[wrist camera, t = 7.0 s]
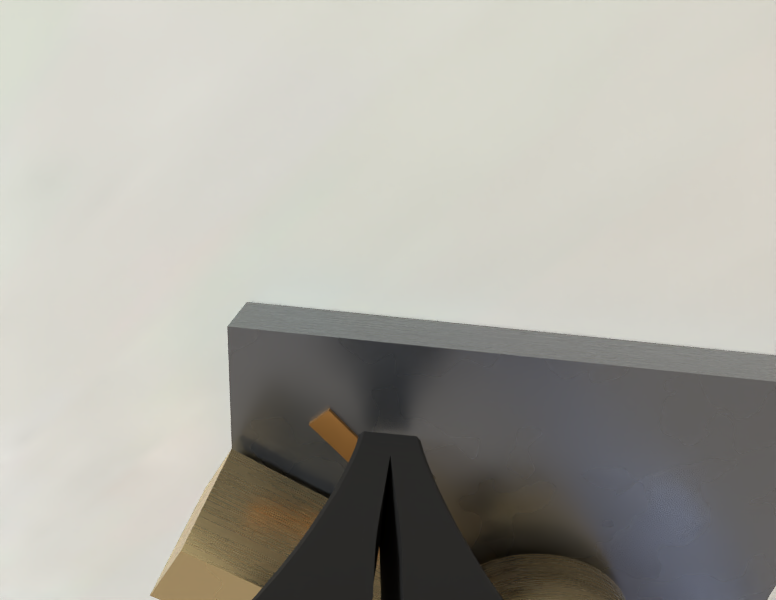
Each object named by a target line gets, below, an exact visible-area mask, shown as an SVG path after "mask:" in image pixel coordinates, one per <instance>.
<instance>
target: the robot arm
mask: <svg viewBox="0 0 776 600" xmlns="http://www.w3.org/2000/svg"><path fill="white" fill-rule="evenodd" d="M379 551H380V586H381V600H504V599H503V598H502V597H501V595H500V594H499V592H498V591H497V590H496V588H495V587H494V585H493V584H492V582H491V581H490V579H489V578H488V576H487V575H486V573H485V572H484V570H483V569H482V567H481V565H480V564H479V562H478V561H477V559H476V557H475V556H474V554H473V552H472V551H471V549H470V547H469V546H468V544H467V542H466V540H465V539H464V537H463V535H462V533H461V532H460V530H459V528H458V526H457V524H456V522H455V521H454V519H453V517H452V515H451V513H450V511H449V509H448V507H447V505H446V503H445V501H444V499H443V497H442V495H441V493H440V490H439V488H438V486H437V484H436V482H435V479H434V477H433V474H432V472H431V470H430V467H429V465H428V462H427V459H426V456H425V454H424V451H423V447H422V444H421V441H420V440H419V438H418V437H417V436H409V435H399V434H388V433H378V432H367V431H364V432H362V433H361V434H359V436H358V440H357V443H356V446H355V449H354V451H353V454H352V456H351V458H350V460H349V462H348V464H347V466H346V468H345V470H344V472H343V474H342V476H341V478H340V480H339V481H338V483H337V485H336V487H335V488H334V490H333V492H332V494H331V496H330V497H329V499H328V500H327V502H326V504H325V505H324V507H323V508H322V510H321V511H320V513H319V514H318V516H317V517H316V519H315V520H314V522H313V523H312V525H311V526H310V528H309V529H308V531H307V532H306V534H305V535H304V536H303V538H302V539H301V540H300V542H299V543H298V544H297V546H296V547H295V548H294V550H293V551H292V552H291V554H290V555H289V556H288V557H287V559H286V560H285V561H284V563H283V564H282V565H281V566H280V568H279V569H278V570H277V571H276V572H275V573H274V575H273V576H272V577H271V578H270V579H269V580H268V582H267V583H266V584H265V585H264V586H263V587H262V589H261V590H260V591H259V592H258V593H257V594H256V596H255V597H254V598H253V599H252V600H373V584H374V578H375V571H376V565H377V558H378V552H379Z"/></svg>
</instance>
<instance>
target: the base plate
mask: <svg viewBox="0 0 776 600" xmlns="http://www.w3.org/2000/svg"><path fill="white" fill-rule="evenodd" d="M227 327H228V354H229V381H230V408H231V436H232V449H233V450H235V451H237V452H239V453H241V454H243V455H245V456H247V457H249V458H251V459H253V460H254V461H256V462H258V463H260V464H262V465H264V466H266V467H268V468H270V469H272V470H274V471H276V472H278V473H280V474H282V475H284V476H286V477H288V478H289V479H291V480H293V481H295V482H297V483H299V484H301V485H303V486H305V487H307V488H309V489H311V490H313V491H315V492H317V493H319V494H321V495H323V496H324V497H326V498H328V499H329V497H330V496H331V494H332V492H333V490H334V488H335V487H336V485H337V483H338V481H339V480H340V478H341V476H342V474H343V472H344V470H345V468H346V466H347V464H348V462H349V460H350V458H351V456H352V454H353V451H354V449H355V446H356V443H357V440H358V436H359V434H361V433H362V432H364V431H367V432H378V433H388V434H399V435H409V436H417V437H418V438H419V440H420V441H421V444H422V447H423V451H424V454H425V456H426V459H427V462H428V465H429V467H430V470H431V472H432V474H433V477H434V479H435V482H436V484H437V486H438V488H439V490H440V493H441V495H442V497H443V499H444V501H445V503H446V505H447V507H448V509H449V511H450V513H451V515H452V517H453V519H454V521H455V522H456V524H457V526H458V528H459V530H460V532H461V533H462V535H463V537H464V539H465V540H466V542H467V544H468V546H469V547H470V549H471V551H472V552H473V554H474V556H475V557H476V559H477V561H478V562H479V564H482V563H485V562H488V561H490V560H494V559H498V558H502V557H506V556H512V555H519V554H551V555H559V556H564V557H569V558H573V559H576V560H579V561H582V562H585V563H587V564H589V565H591V566H593V567H595V568H597V569H599V570H600V571H602V572H603V573H605V574H606V575H607V576H608V577H610V578H611V579H612V580H613V581H614V582H615V583H616V584H617V586H618V587H619V588H620V590H621V591H622V593H623V595H624V597H625V599H626V600H767V599H768V597H769V595H770V594H771V592H772V591H773V589H774V587H775V586H776V356H774V355H764V354H754V353H745V352H735V351H725V350H715V349H705V348H695V347H685V346H675V345H666V344H656V343H646V342H636V341H626V340H616V339H606V338H596V337H587V336H577V335H567V334H557V333H547V332H537V331H527V330H517V329H508V328H498V327H488V326H478V325H468V324H458V323H448V322H438V321H429V320H419V319H409V318H399V317H389V316H379V315H369V314H359V313H350V312H340V311H330V310H320V309H310V308H300V307H290V306H280V305H271V304H261V303H251V302H247V303H246V304H245V305H244V306H243V308H242V309H241V310H240V311H239V313H238V314H237V315H236V316H235V318H234V319H233V320H232V321H231V323H230V324H229V325H228V326H227Z"/></svg>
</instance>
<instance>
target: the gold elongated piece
mask: <svg viewBox="0 0 776 600" xmlns="http://www.w3.org/2000/svg"><path fill="white" fill-rule="evenodd" d="M327 500H328V498H326V497H324V496H323V495H321V494H319V493H317V492H315V491H313V490H311V489H309V488H307V487H305V486H303V485H301V484H299V483H297V482H295V481H293V480H291V479H289V478H288V477H286V476H284V475H282V474H280V473H278V472H276V471H274V470H272V469H270V468H268V467H266V466H264V465H262V464H260V463H258V462H256V461H254V460H253V459H251V458H249V457H247V456H245V455H243V454H241V453H239V452H237V451H235V450H233V449H231V451H230V452H229V454H228V455H227V457H226V458H225V460H224V461H223V463H222V464H221V466H220V467H219V469H218V470H217V472H216V473H215V475H214V476H213V478H212V479H211V481H210V482H209V484H208V485H207V487H206V488H205V490H204V492H203V494H202V496H201V498H200V500H199V502H198V504H197V505H196V507H195V509H194V511H193V513H192V515H191V517H190V519H189V521H188V523H187V525H186V527H185V529H184V531H183V533H182V534H181V536H180V538H179V540H178V542H177V544H176V546H175V548H174V550H173V552H172V554H171V556H170V558H169V560H168V562H167V563H166V565H165V567H164V569H163V571H162V573H161V575H160V577H159V579H158V581H157V583H156V585H155V587H154V589H153V591H152V592H151V594H150V596H153V597H155V598H157V599H159V600H252V599H253V598H254V597H255V596H256V594H257V593H258V592H259V591H260V590H261V589H262V587H263V586H264V585H265V584H266V583H267V582H268V580H269V579H270V578H271V577H272V576H273V575H274V573H275V572H276V571H277V570H278V569H279V568H280V566H281V565H282V564H283V563H284V561H285V560H286V559H287V557H288V556H289V555H290V554H291V552H292V551H293V550H294V548H295V547H296V546H297V544H298V543H299V542H300V540H301V539H302V538H303V536H304V535H305V534H306V532H307V531H308V529H309V528H310V526H311V525H312V523H313V522H314V520H315V519H316V517H317V516H318V514H319V513H320V511H321V510H322V508H323V507H324V505H325V504H326V502H327ZM480 565H481V567H482V569H483V570H484V572H485V573H486V575H487V576H488V578H489V579H490V581H491V582H492V584H493V585H494V587H495V588H496V590H497V591H498V592H499V594H500V595H501V597H502V598H503V599H504V600H626V599H625V597H624V595H623V593H622V591H621V590H620V588H619V587H618V586H617V584H616V583H615V582H614V581H613V580H612V579H611V578H610V577H608V576H607V575H606V574H605V573H603V572H602V571H600V570H599V569H597V568H595V567H593V566H591V565H589V564H587V563H585V562H582V561H579V560H576V559H573V558H569V557H564V556H559V555H551V554H519V555H512V556H506V557H502V558H498V559H494V560H490V561H488V562H485V563H482V564H480ZM373 600H381V586H380V551H379V552H378V558H377V565H376V571H375V578H374V584H373Z"/></svg>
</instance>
